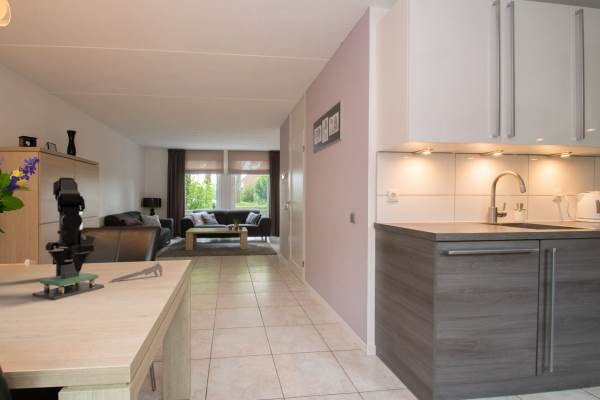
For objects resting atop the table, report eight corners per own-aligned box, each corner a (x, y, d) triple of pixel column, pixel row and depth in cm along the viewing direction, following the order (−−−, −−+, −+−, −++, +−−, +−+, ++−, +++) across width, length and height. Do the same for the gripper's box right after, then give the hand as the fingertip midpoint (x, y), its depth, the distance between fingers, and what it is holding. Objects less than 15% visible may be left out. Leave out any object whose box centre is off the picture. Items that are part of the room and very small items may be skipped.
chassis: (32, 296, 121) (32, 284, 121) (82, 284, 137) (82, 274, 137) (54, 300, 116) (54, 287, 116) (104, 287, 133) (104, 277, 133)
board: (39, 283, 123) (39, 266, 123) (78, 275, 135) (78, 260, 135) (59, 286, 118) (59, 269, 118) (98, 277, 131) (98, 262, 131)
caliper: (161, 276, 154) (161, 261, 154) (162, 276, 153) (162, 262, 153) (109, 282, 142) (109, 267, 142) (109, 283, 141) (109, 267, 141)
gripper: (108, 226, 130) (108, 268, 130) (75, 225, 138) (74, 265, 138) (78, 229, 120) (78, 274, 120) (44, 227, 128) (44, 270, 128)
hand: (69, 270), depth 127 cm, fingers open, 9 cm apart
